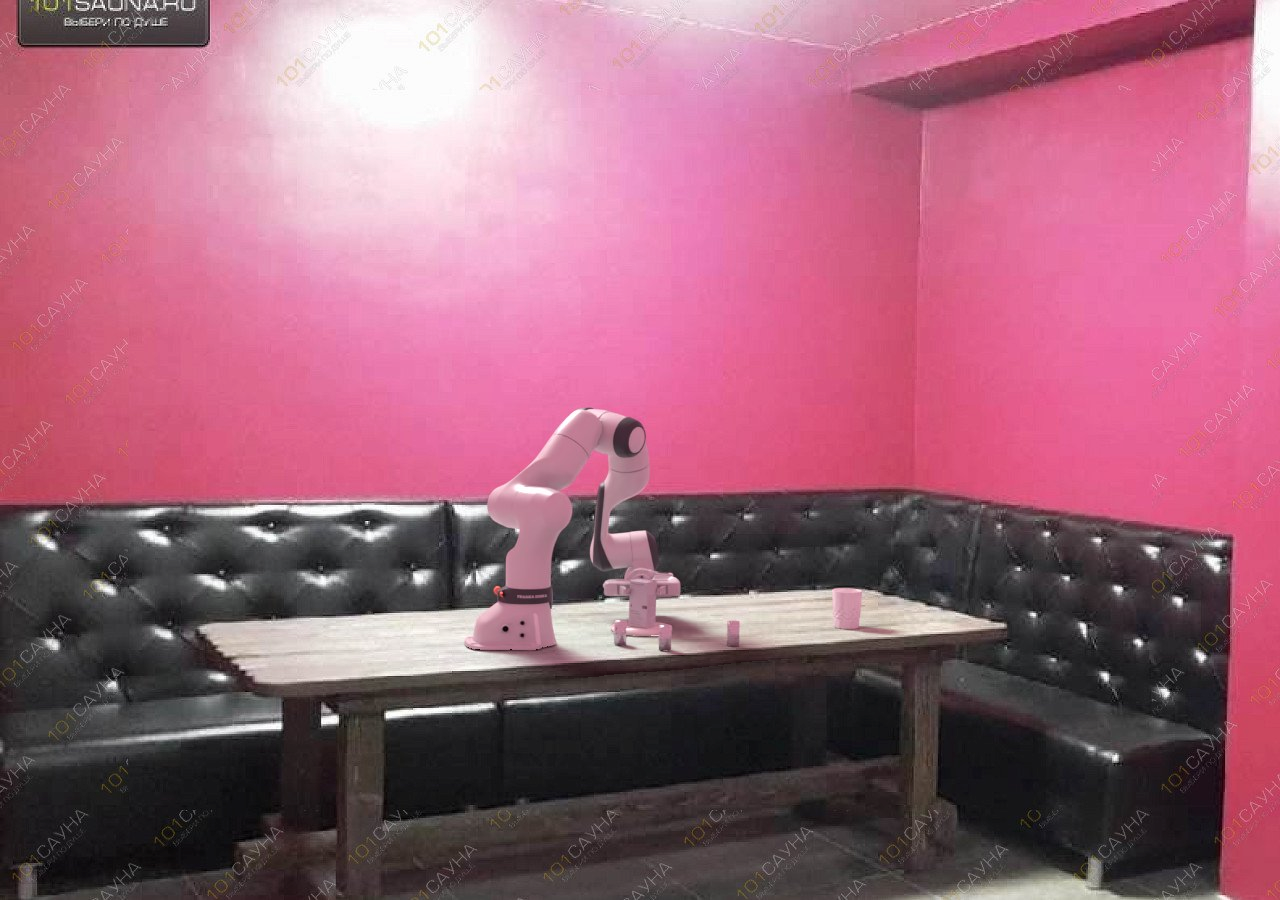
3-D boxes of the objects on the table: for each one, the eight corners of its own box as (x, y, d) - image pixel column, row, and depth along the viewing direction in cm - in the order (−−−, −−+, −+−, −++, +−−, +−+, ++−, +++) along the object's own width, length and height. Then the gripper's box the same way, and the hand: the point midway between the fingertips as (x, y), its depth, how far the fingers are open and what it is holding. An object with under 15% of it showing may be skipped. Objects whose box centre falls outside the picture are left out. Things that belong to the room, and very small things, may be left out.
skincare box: (627, 626, 358) (628, 580, 357) (638, 623, 361) (638, 578, 360) (646, 628, 354) (647, 582, 353) (657, 626, 358) (657, 580, 357)
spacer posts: (623, 652, 329) (623, 627, 328) (612, 643, 340) (613, 619, 339) (744, 648, 336) (744, 624, 336) (729, 640, 347) (730, 616, 347)
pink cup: (840, 630, 363) (841, 593, 363) (826, 625, 370) (826, 588, 370) (866, 629, 366) (867, 591, 365) (851, 624, 373) (852, 587, 373)
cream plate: (618, 637, 348) (618, 632, 348) (604, 626, 363) (604, 622, 363) (679, 635, 352) (679, 631, 352) (663, 624, 367) (663, 620, 367)
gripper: (602, 572, 369) (603, 580, 356) (678, 572, 370) (681, 580, 356) (602, 595, 370) (603, 604, 356) (678, 596, 370) (681, 604, 357)
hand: (643, 592), depth 356 cm, fingers closed on skincare box, 7 cm apart
